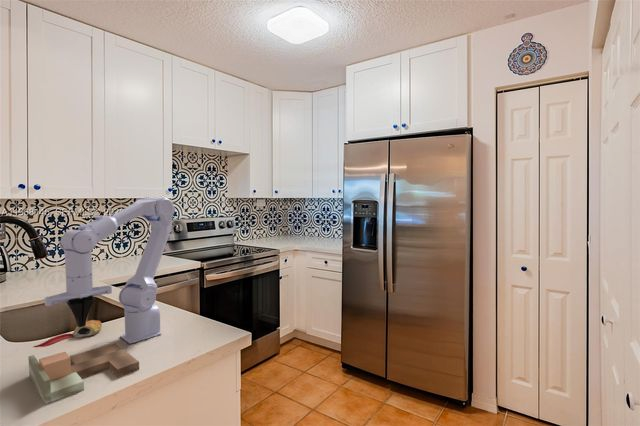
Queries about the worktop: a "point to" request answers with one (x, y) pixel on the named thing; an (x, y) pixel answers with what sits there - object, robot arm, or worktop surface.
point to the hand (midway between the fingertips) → (81, 325)
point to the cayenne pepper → (55, 340)
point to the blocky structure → (81, 371)
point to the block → (56, 365)
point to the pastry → (88, 329)
